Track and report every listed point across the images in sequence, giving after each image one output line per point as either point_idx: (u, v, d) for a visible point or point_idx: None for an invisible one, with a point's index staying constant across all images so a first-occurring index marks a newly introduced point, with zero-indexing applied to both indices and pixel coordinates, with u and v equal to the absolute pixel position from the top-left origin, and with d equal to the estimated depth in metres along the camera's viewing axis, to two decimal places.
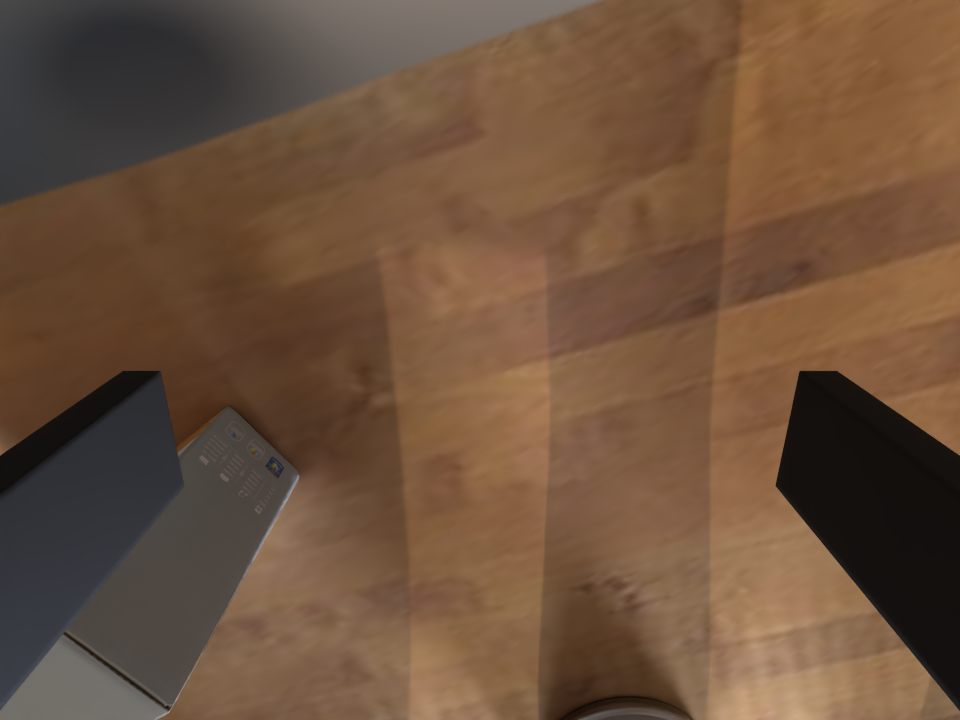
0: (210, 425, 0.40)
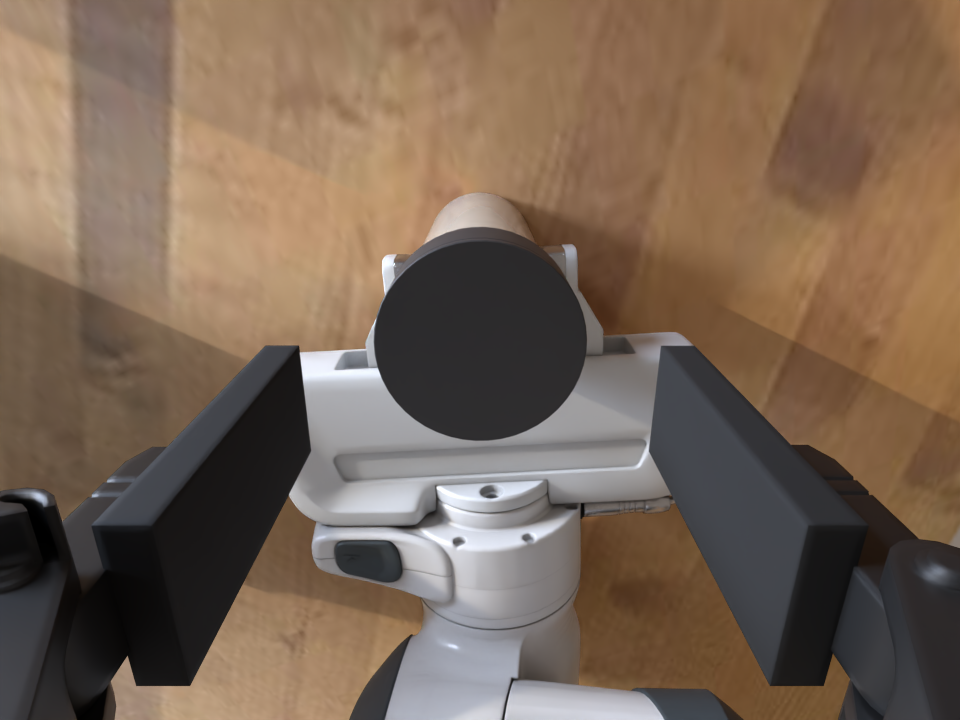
0: None
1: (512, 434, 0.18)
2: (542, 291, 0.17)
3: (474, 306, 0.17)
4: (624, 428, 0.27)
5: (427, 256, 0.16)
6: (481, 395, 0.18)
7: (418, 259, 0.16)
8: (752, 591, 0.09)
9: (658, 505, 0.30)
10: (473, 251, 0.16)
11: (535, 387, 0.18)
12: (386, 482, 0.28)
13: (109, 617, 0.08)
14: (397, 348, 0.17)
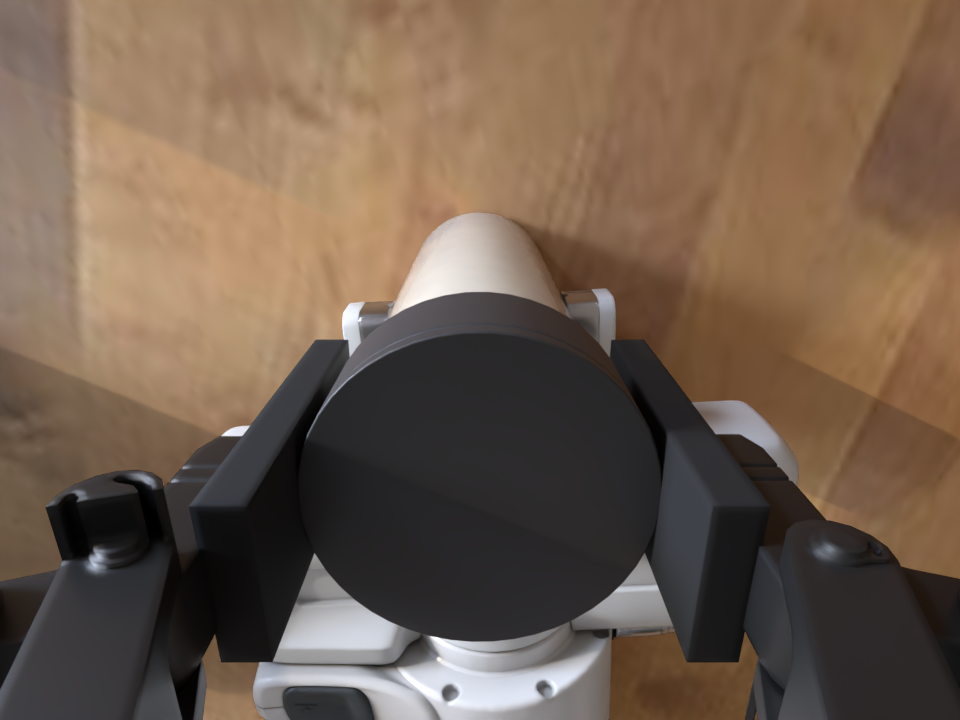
0: None
1: (532, 633, 0.11)
2: (588, 416, 0.10)
3: (470, 440, 0.10)
4: None
5: (385, 358, 0.09)
6: (482, 576, 0.11)
7: (370, 363, 0.09)
8: (675, 573, 0.09)
9: None
10: (467, 350, 0.09)
11: (572, 564, 0.11)
12: (352, 604, 0.21)
13: (203, 595, 0.08)
14: (338, 505, 0.10)
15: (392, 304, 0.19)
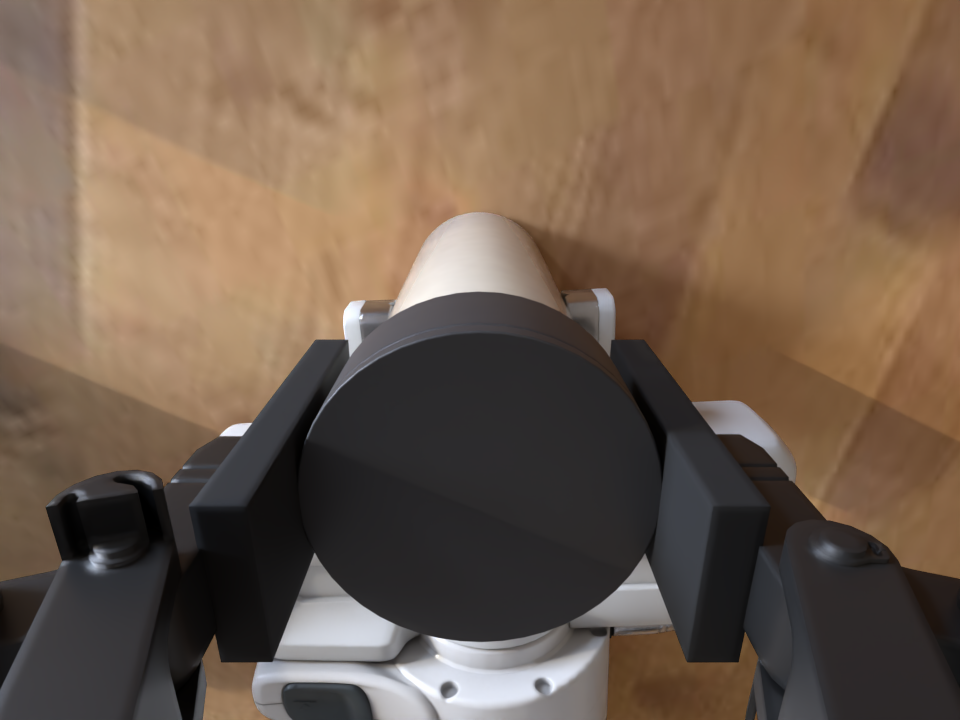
0: None
1: (642, 425, 0.10)
2: (357, 431, 0.10)
3: (411, 523, 0.10)
4: None
5: (351, 593, 0.11)
6: (569, 488, 0.10)
7: (360, 602, 0.11)
8: (674, 573, 0.09)
9: None
10: (324, 538, 0.10)
11: (539, 406, 0.09)
12: (352, 601, 0.21)
13: (202, 595, 0.08)
14: (506, 611, 0.11)
15: (393, 302, 0.19)
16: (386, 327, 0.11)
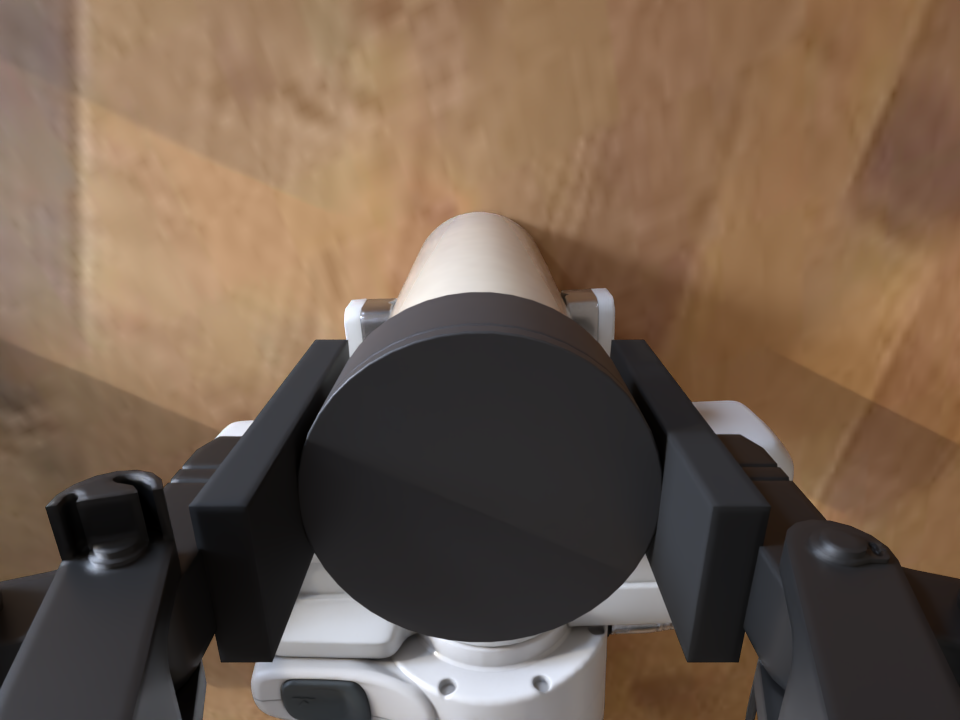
0: None
1: (353, 381, 0.09)
2: (425, 606, 0.11)
3: (514, 556, 0.11)
4: None
5: (608, 593, 0.11)
6: (441, 430, 0.10)
7: (620, 584, 0.11)
8: (675, 573, 0.09)
9: None
10: (545, 619, 0.11)
11: (359, 476, 0.10)
12: (351, 599, 0.21)
13: (203, 594, 0.08)
14: (615, 456, 0.10)
15: (394, 301, 0.19)
16: None
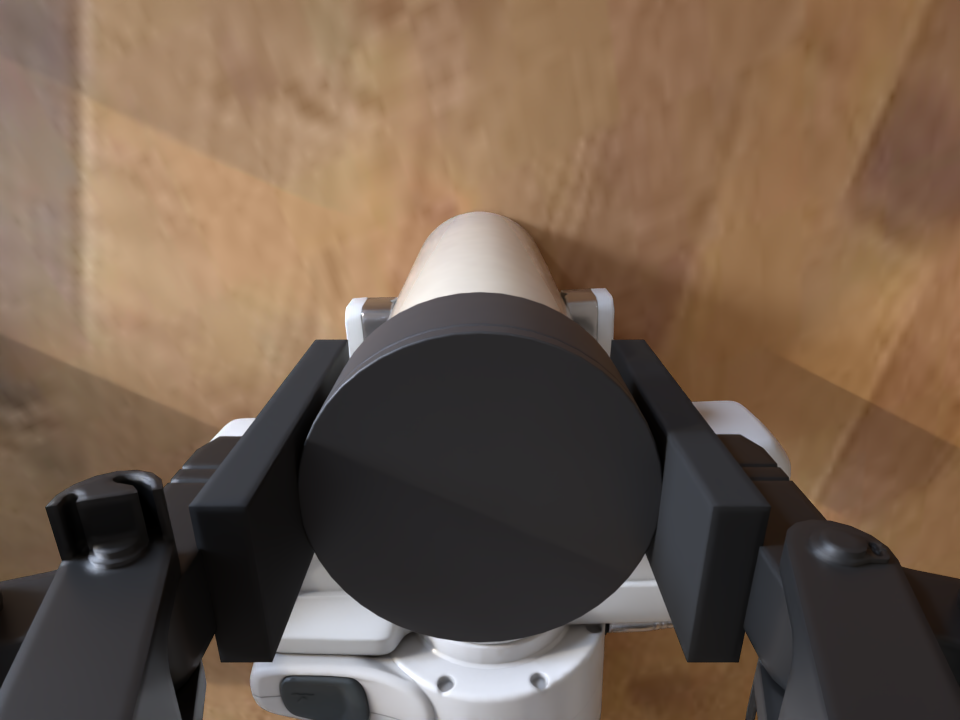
0: None
1: (379, 613, 0.11)
2: (615, 532, 0.10)
3: (537, 464, 0.10)
4: None
5: (574, 358, 0.09)
6: (407, 546, 0.10)
7: (560, 348, 0.09)
8: (675, 573, 0.09)
9: None
10: (620, 416, 0.10)
11: (470, 601, 0.11)
12: None
13: (202, 594, 0.08)
14: (395, 397, 0.09)
15: (394, 300, 0.19)
16: None
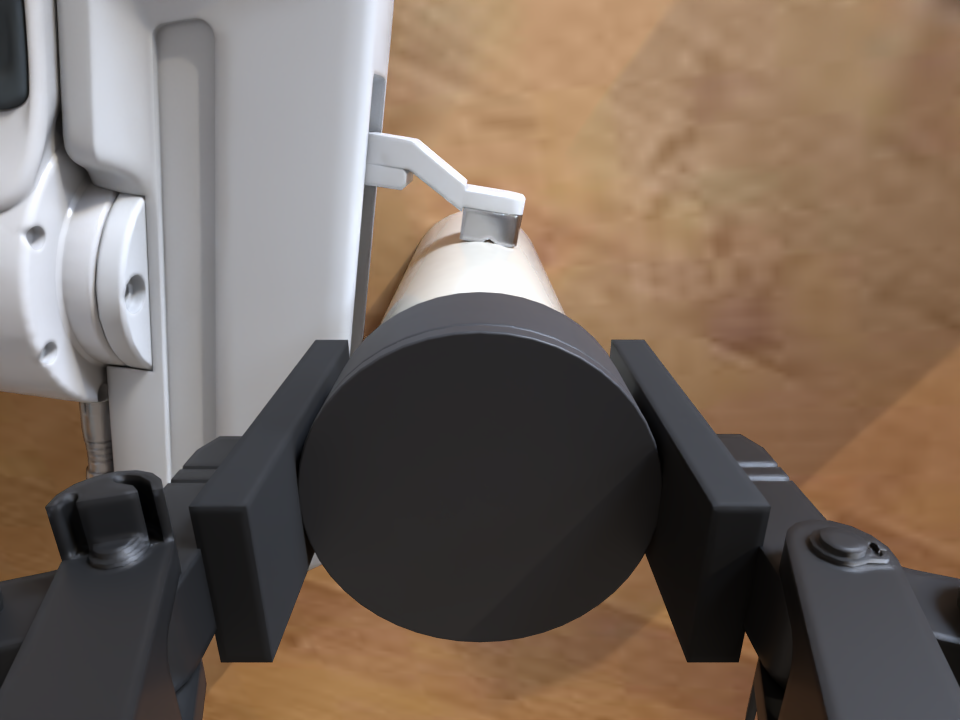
0: None
1: (379, 613, 0.11)
2: (615, 532, 0.10)
3: (537, 463, 0.10)
4: None
5: (573, 358, 0.09)
6: (407, 545, 0.10)
7: (560, 347, 0.09)
8: (674, 573, 0.09)
9: None
10: (620, 416, 0.10)
11: (470, 600, 0.11)
12: (153, 109, 0.16)
13: (202, 595, 0.08)
14: (395, 396, 0.09)
15: None
16: None
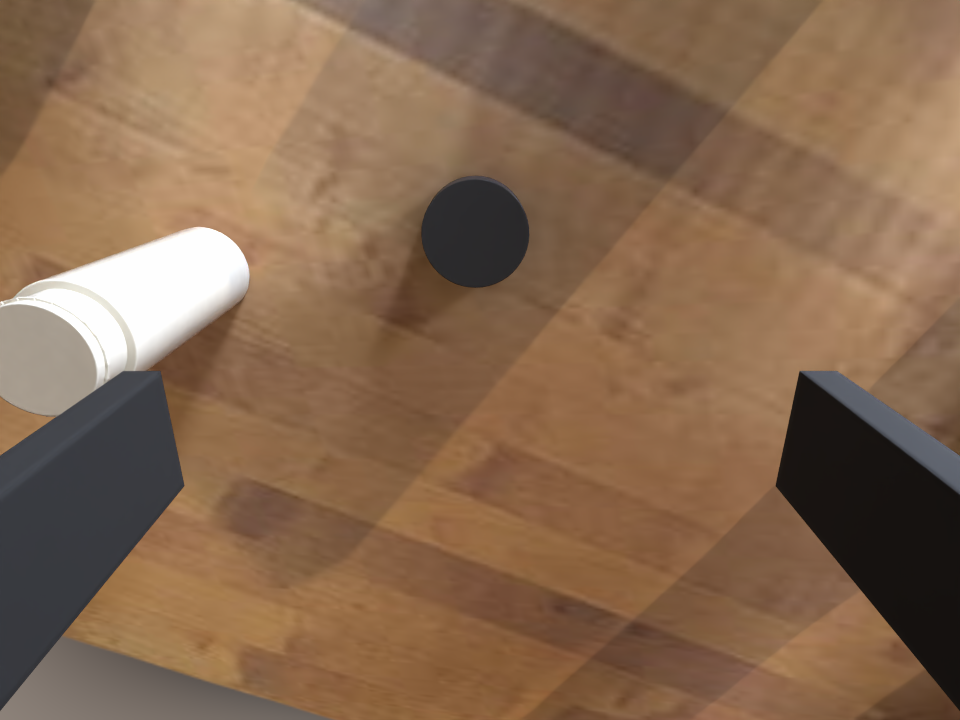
0: None
1: (443, 275, 0.35)
2: (515, 244, 0.34)
3: (491, 221, 0.34)
4: None
5: (500, 187, 0.33)
6: (453, 250, 0.35)
7: (497, 184, 0.33)
8: None
9: None
10: (514, 205, 0.34)
11: (472, 270, 0.35)
12: None
13: None
14: (451, 199, 0.34)
15: None
16: None
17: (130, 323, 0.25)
